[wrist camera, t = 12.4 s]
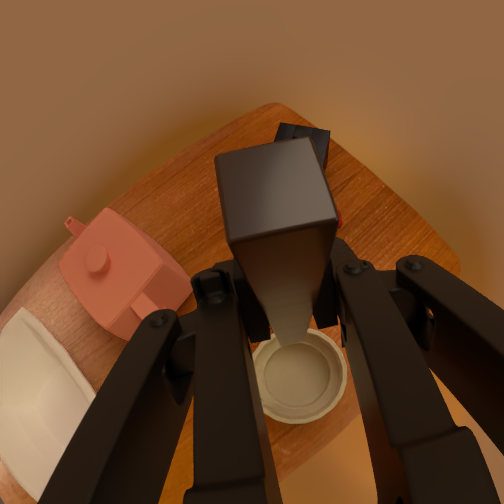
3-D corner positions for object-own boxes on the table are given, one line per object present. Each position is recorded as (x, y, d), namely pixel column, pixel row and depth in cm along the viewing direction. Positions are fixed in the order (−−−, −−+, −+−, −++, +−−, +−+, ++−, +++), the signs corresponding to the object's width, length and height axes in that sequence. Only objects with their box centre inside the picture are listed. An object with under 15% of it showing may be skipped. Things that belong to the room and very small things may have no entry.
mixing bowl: (355, 362, 38) (365, 361, 32) (305, 431, 36) (307, 441, 30) (286, 317, 42) (285, 308, 36) (237, 384, 39) (227, 386, 33)
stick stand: (327, 158, 50) (330, 130, 44) (319, 197, 48) (321, 170, 41) (282, 150, 52) (280, 122, 45) (270, 187, 49) (267, 160, 43)
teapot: (81, 274, 48) (26, 241, 35) (130, 218, 51) (86, 171, 38) (165, 370, 41) (112, 366, 28) (224, 303, 44) (193, 272, 30)
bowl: (161, 412, 39) (126, 421, 29) (83, 504, 34) (46, 521, 24) (64, 307, 46) (23, 291, 37) (5, 403, 41) (-34, 400, 32)
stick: (299, 318, 24) (311, 133, 5) (304, 341, 23) (342, 220, 5) (276, 323, 24) (212, 153, 6) (280, 346, 23) (226, 244, 5)
